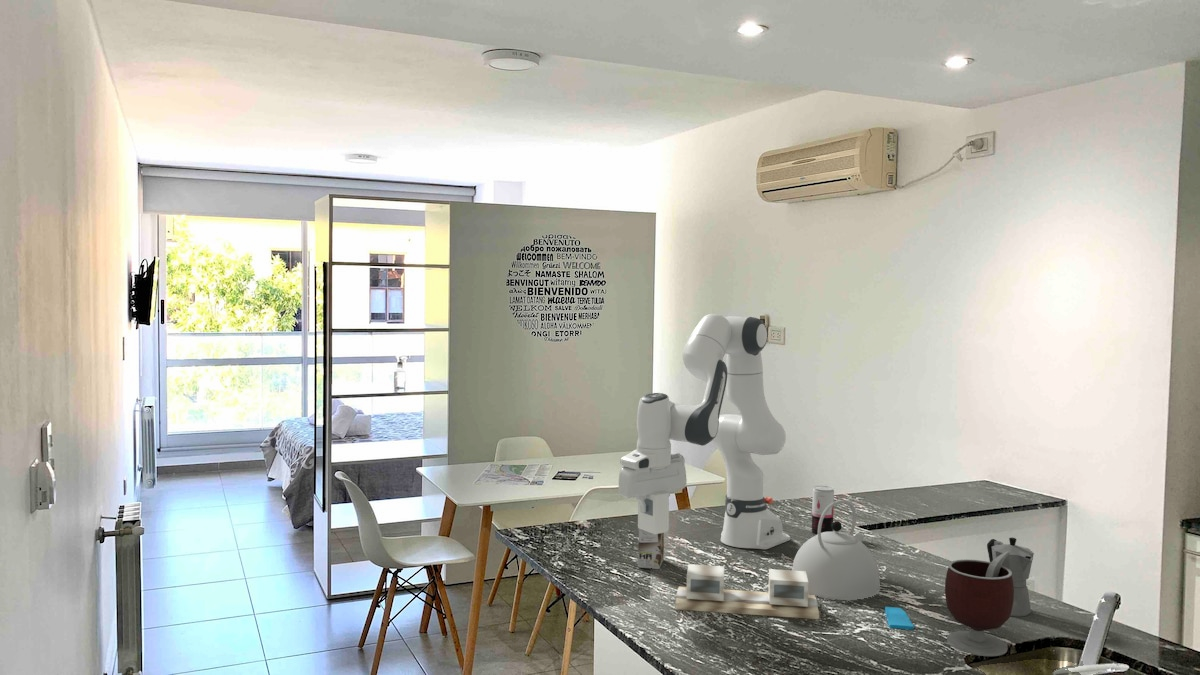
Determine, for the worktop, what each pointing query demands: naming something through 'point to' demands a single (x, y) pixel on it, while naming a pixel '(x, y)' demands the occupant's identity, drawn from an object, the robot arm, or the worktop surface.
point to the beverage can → (822, 508)
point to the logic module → (655, 513)
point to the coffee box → (650, 550)
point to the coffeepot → (1015, 571)
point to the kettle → (838, 563)
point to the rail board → (747, 594)
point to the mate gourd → (979, 603)
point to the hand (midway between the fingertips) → (653, 510)
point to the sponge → (898, 618)
